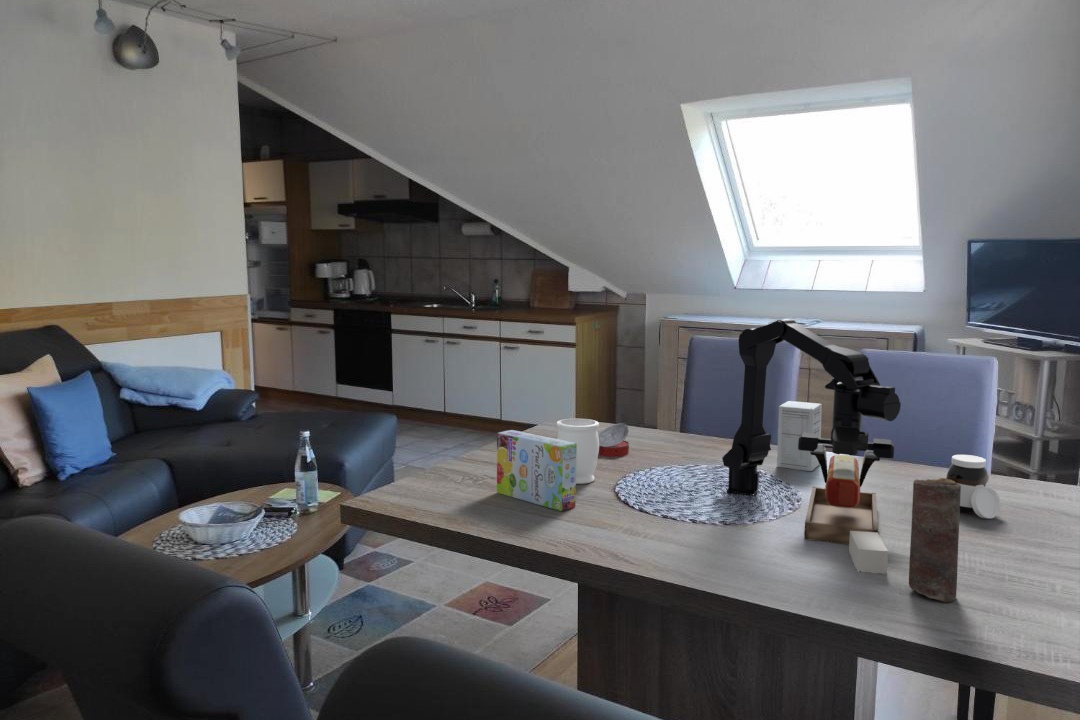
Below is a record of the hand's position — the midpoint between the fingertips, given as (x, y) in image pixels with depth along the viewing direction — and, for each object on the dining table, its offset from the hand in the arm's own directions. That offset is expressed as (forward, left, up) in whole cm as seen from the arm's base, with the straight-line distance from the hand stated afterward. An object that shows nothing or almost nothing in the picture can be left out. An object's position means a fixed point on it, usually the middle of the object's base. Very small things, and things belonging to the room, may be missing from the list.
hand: (843, 484), depth 173 cm
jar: (-63, +10, -9) cm, 64 cm away
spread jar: (+27, +19, -9) cm, 34 cm away
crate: (0, 0, -8) cm, 8 cm away
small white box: (+5, -22, -9) cm, 24 cm away
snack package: (0, 0, -2) cm, 2 cm away
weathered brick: (+15, -33, -9) cm, 37 cm away
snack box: (-67, -9, -9) cm, 68 cm away
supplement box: (-12, +45, -9) cm, 47 cm away
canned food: (-63, +40, -9) cm, 75 cm away
